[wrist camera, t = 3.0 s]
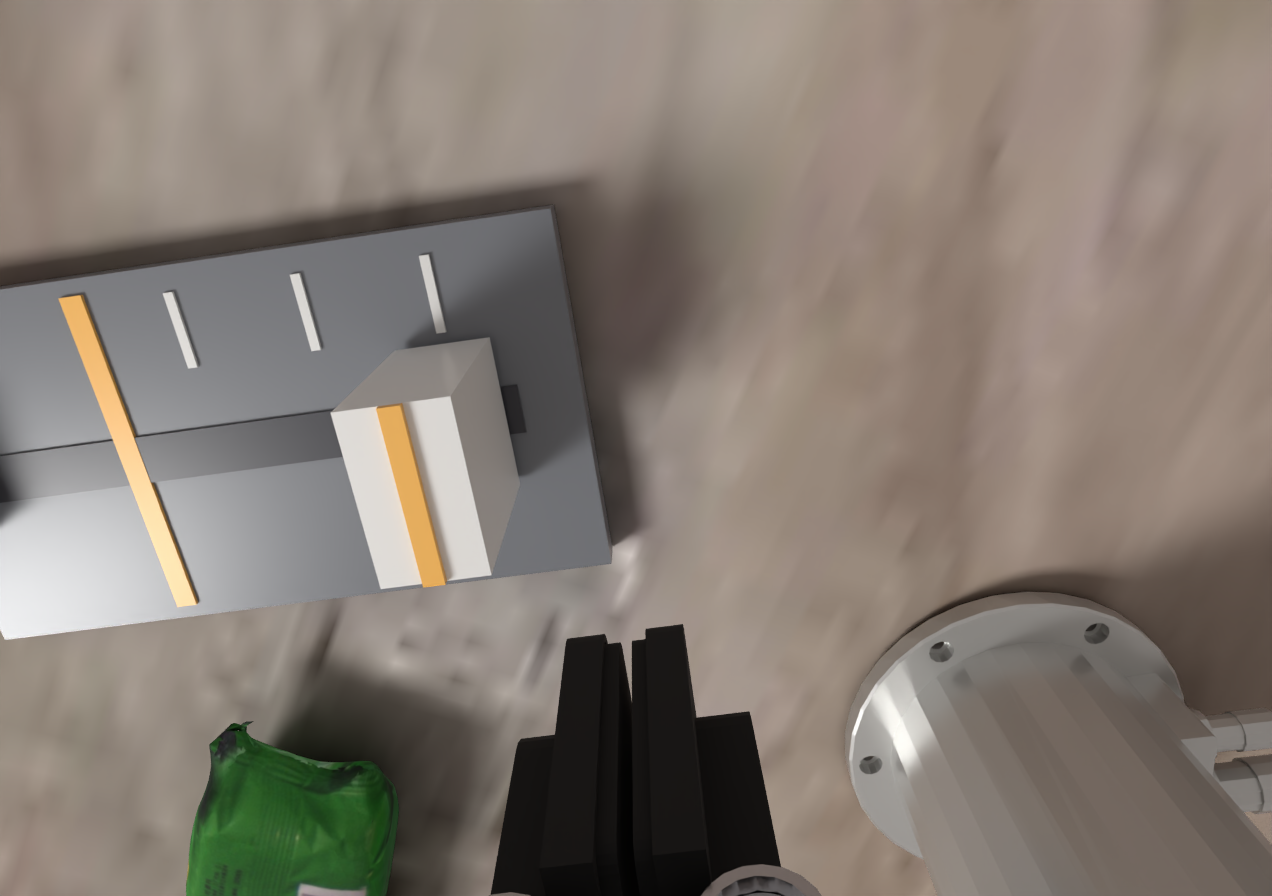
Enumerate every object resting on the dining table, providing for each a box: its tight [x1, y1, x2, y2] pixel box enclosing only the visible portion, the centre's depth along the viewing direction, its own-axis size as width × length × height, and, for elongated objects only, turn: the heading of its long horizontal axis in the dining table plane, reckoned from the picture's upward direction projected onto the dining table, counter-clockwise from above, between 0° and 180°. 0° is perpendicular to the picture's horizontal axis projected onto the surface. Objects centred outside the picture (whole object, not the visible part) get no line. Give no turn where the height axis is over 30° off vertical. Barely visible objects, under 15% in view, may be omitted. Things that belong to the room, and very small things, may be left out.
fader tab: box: [331, 337, 520, 589], centre depth 25 cm, size 3×5×6 cm, turn 8°
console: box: [0, 205, 612, 640], centre depth 28 cm, size 22×12×4 cm, turn 98°
